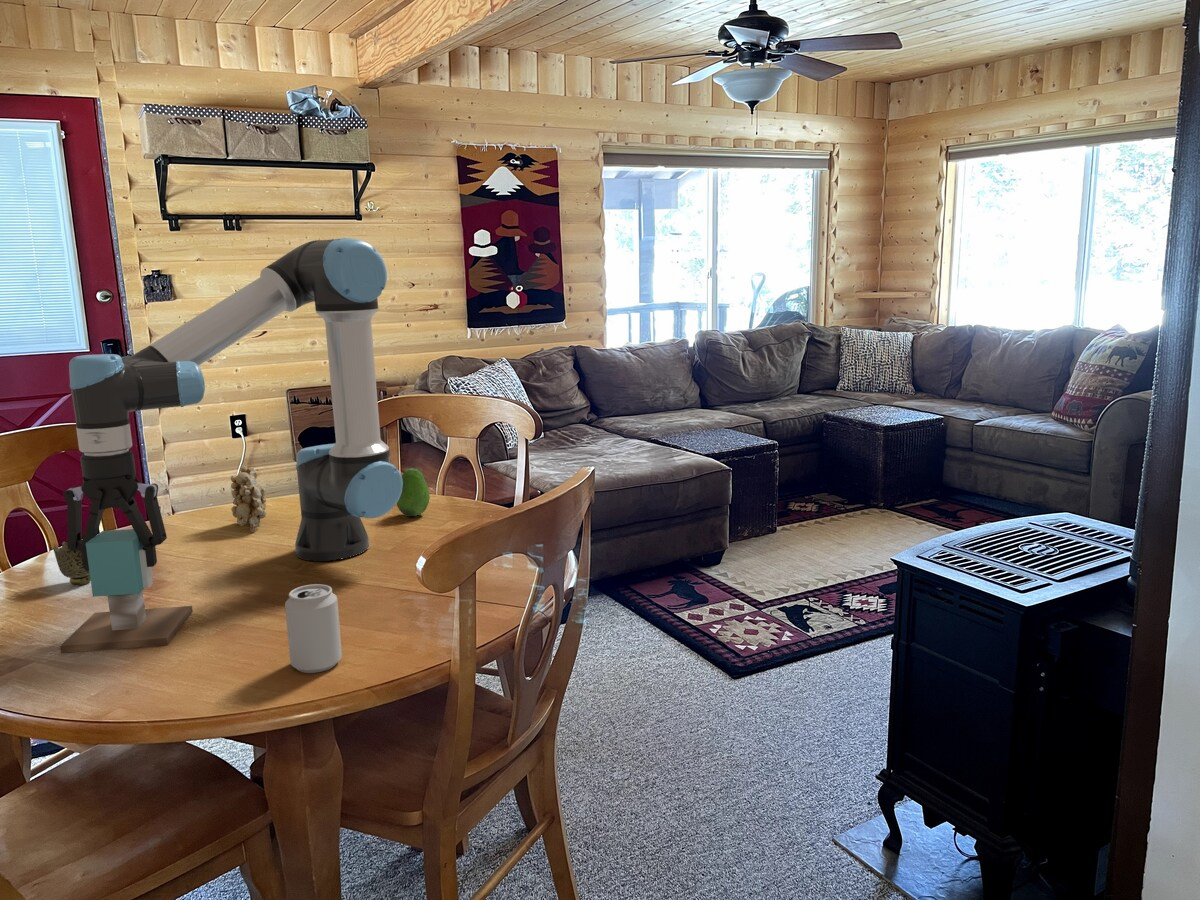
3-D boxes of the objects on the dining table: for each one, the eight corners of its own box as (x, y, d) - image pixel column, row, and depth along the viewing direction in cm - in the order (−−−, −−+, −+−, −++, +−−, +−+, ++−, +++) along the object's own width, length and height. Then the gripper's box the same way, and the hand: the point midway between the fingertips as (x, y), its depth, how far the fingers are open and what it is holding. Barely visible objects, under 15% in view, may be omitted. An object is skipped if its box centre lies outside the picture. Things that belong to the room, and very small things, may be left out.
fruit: (403, 511, 218) (400, 464, 216) (434, 511, 217) (431, 464, 215) (392, 520, 210) (389, 471, 208) (424, 520, 210) (421, 471, 207)
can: (297, 655, 137) (291, 582, 135) (346, 652, 138) (340, 580, 135) (285, 676, 130) (277, 600, 127) (336, 674, 130) (330, 598, 128)
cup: (82, 591, 166) (77, 551, 164) (49, 589, 168) (43, 549, 166) (111, 577, 173) (106, 539, 172) (79, 575, 175) (74, 537, 173)
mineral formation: (265, 518, 214) (259, 458, 211) (276, 531, 203) (271, 468, 199) (230, 523, 210) (224, 462, 207) (240, 537, 199) (233, 473, 195)
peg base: (192, 612, 155) (188, 573, 154) (167, 644, 142) (162, 602, 140) (95, 619, 153) (90, 579, 151) (60, 653, 139) (54, 610, 138)
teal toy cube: (153, 579, 149) (147, 528, 148) (139, 593, 143) (132, 540, 141) (109, 581, 148) (102, 530, 146) (92, 596, 141) (85, 543, 140)
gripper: (28, 458, 136) (48, 598, 140) (165, 453, 139) (180, 590, 143) (49, 449, 143) (68, 582, 147) (179, 444, 146) (193, 575, 151)
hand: (123, 586), depth 145 cm, fingers closed on teal toy cube, 7 cm apart
